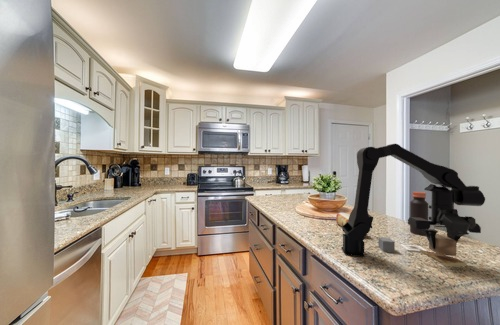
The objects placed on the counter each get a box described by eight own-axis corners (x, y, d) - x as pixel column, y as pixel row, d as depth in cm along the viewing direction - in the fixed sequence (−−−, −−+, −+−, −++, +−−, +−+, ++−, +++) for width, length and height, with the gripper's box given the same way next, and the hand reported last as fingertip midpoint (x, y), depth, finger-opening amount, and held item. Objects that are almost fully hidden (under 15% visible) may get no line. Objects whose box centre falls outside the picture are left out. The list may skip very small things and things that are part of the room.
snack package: (368, 238, 92) (369, 223, 92) (354, 237, 92) (354, 223, 92) (347, 224, 113) (347, 212, 113) (335, 224, 113) (335, 211, 113)
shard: (419, 253, 77) (419, 248, 77) (439, 253, 77) (439, 249, 77) (446, 268, 67) (446, 262, 67) (470, 268, 66) (470, 263, 67)
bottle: (421, 231, 102) (421, 191, 102) (431, 236, 95) (432, 193, 96) (406, 230, 103) (407, 191, 103) (416, 235, 96) (416, 193, 96)
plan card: (407, 250, 78) (407, 248, 78) (400, 245, 83) (400, 243, 83) (428, 252, 77) (428, 250, 77) (419, 247, 82) (419, 245, 82)
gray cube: (382, 251, 78) (383, 241, 78) (378, 247, 82) (378, 237, 82) (394, 252, 77) (394, 241, 77) (389, 248, 81) (389, 238, 81)
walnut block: (439, 254, 69) (439, 239, 69) (429, 248, 74) (429, 234, 74) (456, 256, 68) (456, 241, 68) (445, 249, 73) (445, 235, 73)
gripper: (427, 207, 65) (426, 256, 65) (498, 211, 61) (497, 263, 61) (407, 201, 76) (406, 243, 75) (466, 204, 72) (466, 248, 72)
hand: (441, 249), depth 71 cm, fingers closed on walnut block, 5 cm apart
